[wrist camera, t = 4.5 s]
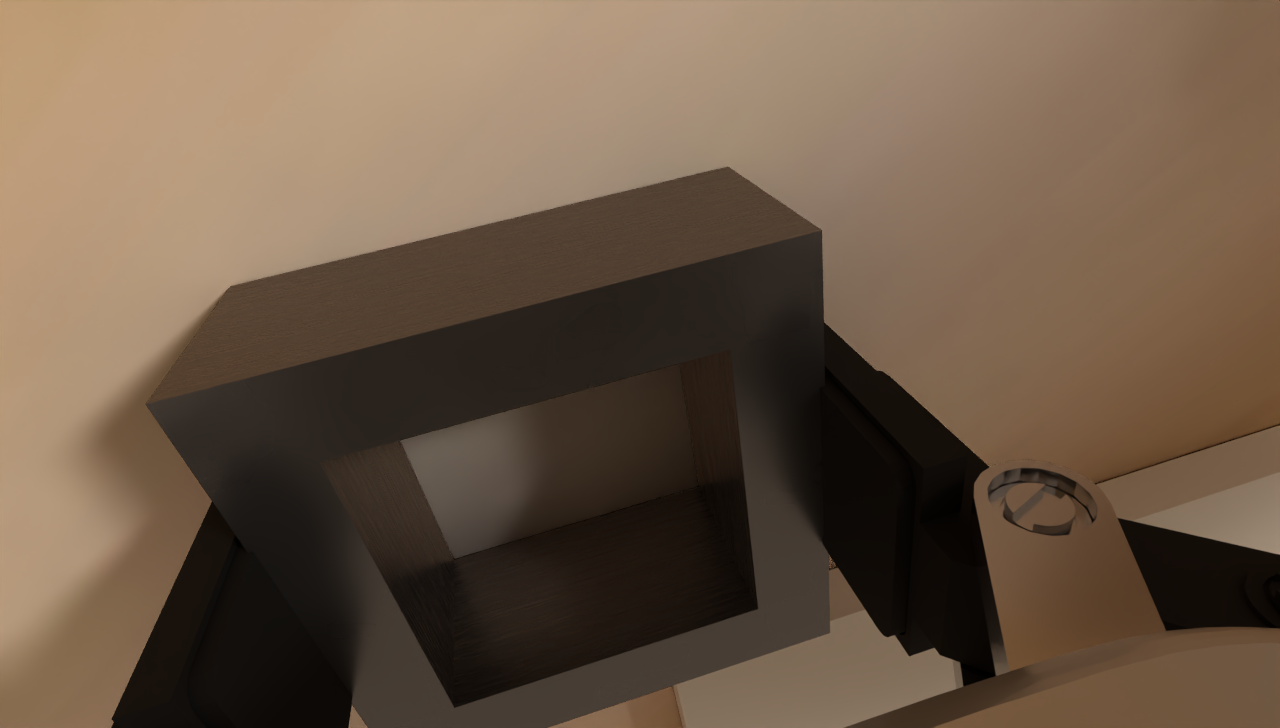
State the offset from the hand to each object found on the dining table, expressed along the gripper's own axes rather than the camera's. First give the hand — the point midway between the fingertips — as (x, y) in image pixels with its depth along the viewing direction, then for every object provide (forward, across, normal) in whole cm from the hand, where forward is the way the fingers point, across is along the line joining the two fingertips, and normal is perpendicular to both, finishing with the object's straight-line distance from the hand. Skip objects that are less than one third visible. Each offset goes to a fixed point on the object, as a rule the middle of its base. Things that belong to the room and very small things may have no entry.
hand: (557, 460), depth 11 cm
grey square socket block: (+1, 0, 0) cm, 1 cm away
